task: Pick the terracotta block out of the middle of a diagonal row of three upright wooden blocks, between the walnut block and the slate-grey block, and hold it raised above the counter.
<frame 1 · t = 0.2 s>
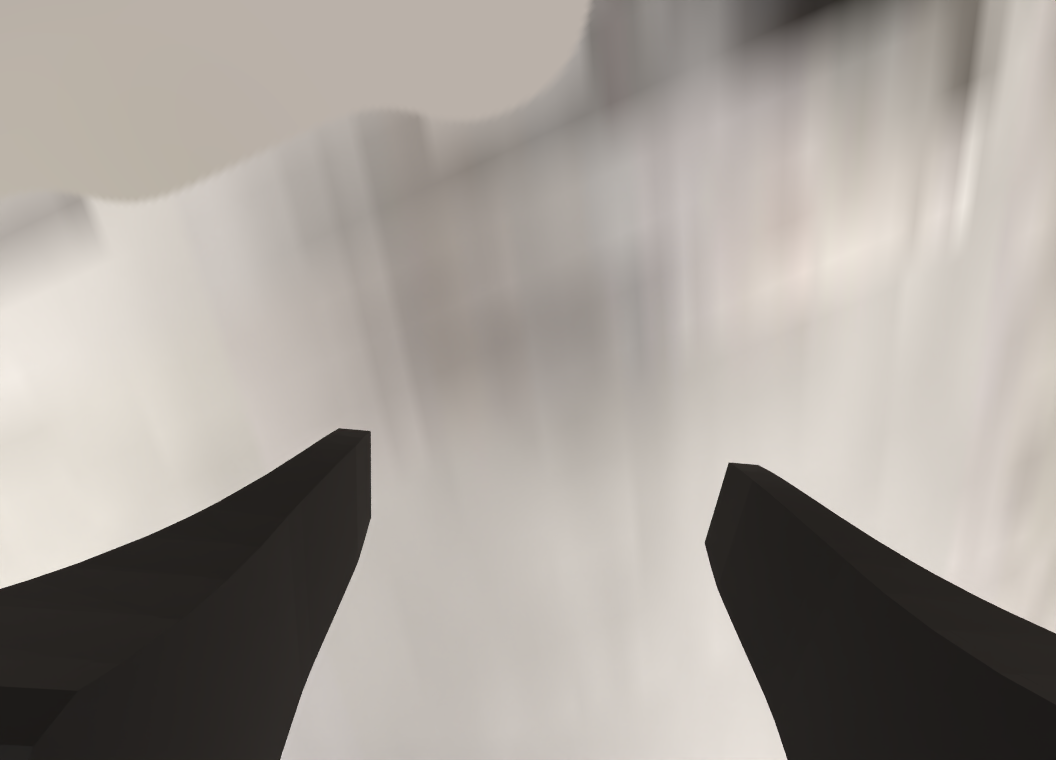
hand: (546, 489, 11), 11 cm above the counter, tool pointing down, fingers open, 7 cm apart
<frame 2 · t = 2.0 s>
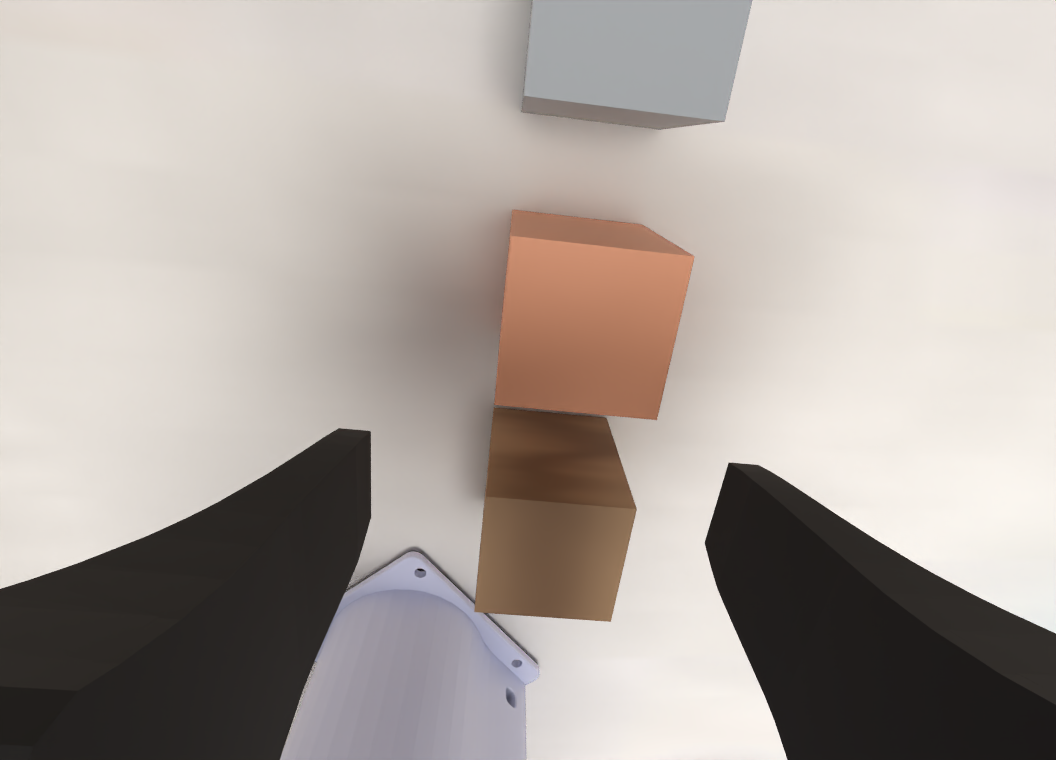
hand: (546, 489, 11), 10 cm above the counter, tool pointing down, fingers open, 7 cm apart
slate block: (602, 39, 17), on the counter
terracotta block: (568, 281, 20), on the counter
walnut block: (543, 460, 22), on the counter
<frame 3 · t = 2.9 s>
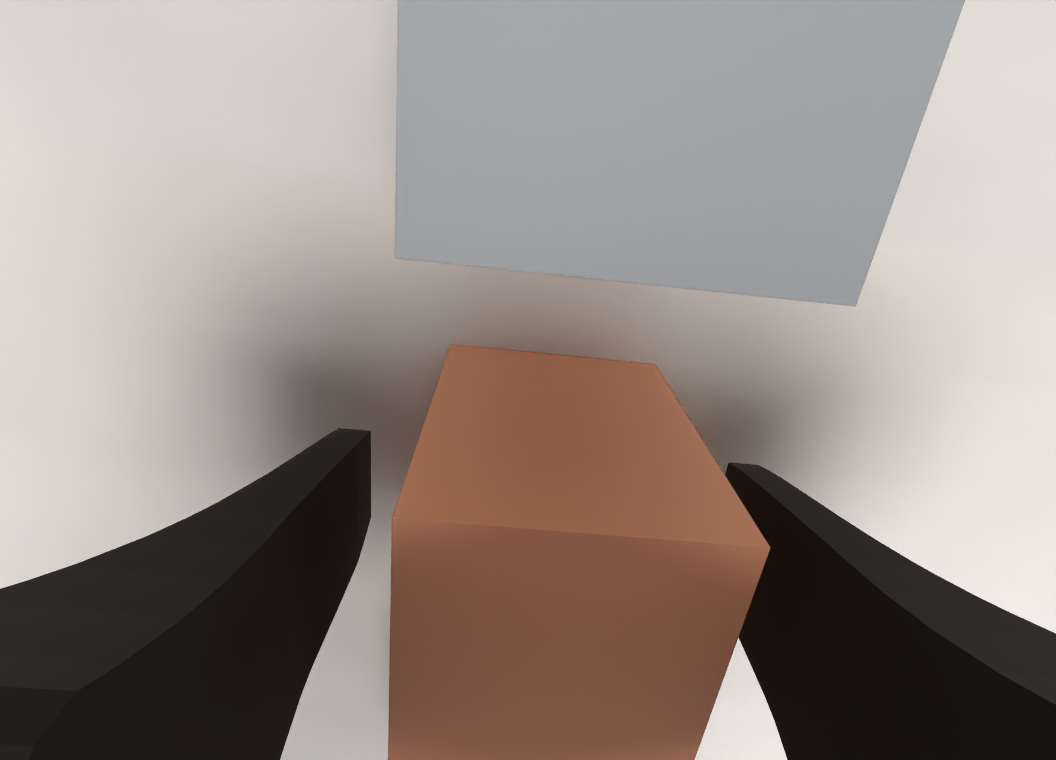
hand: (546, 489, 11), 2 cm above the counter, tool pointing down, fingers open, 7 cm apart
slate block: (590, 82, 10), on the counter
terracotta block: (541, 443, 13), on the counter
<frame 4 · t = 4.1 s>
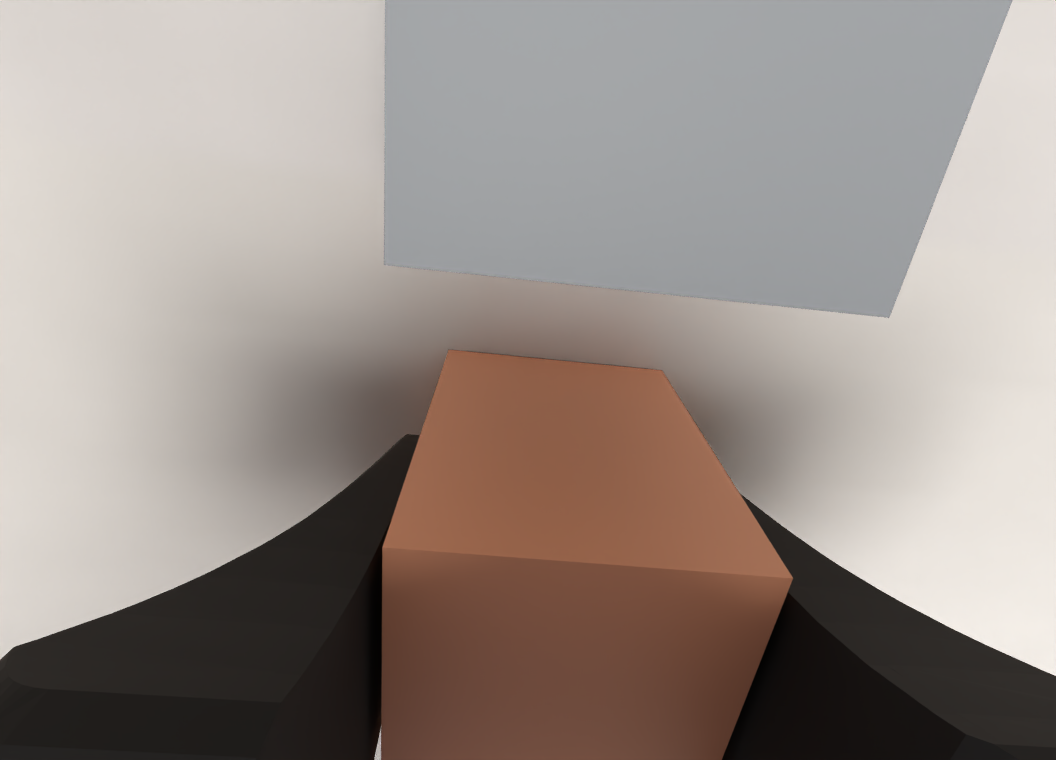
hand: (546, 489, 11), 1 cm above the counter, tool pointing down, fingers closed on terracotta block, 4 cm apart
slate block: (594, 76, 9), on the counter
terracotta block: (543, 452, 12), on the counter, touching gripper
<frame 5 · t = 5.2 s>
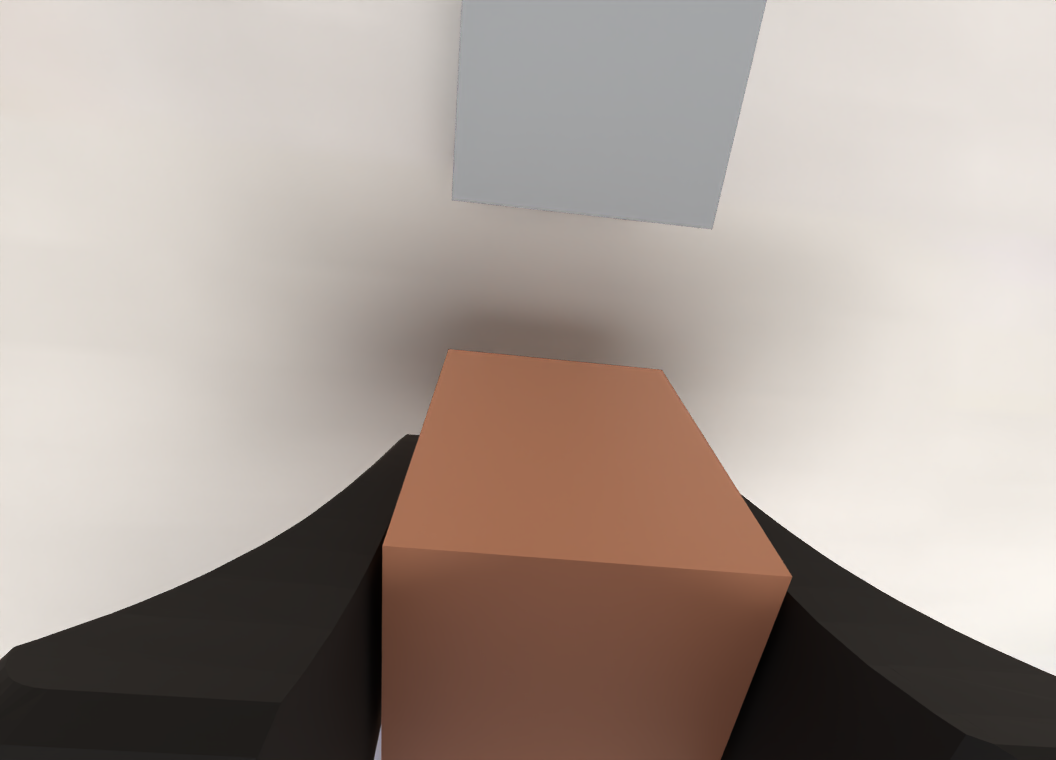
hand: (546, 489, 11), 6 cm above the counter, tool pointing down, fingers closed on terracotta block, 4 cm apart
slate block: (571, 94, 14), on the counter
terracotta block: (543, 451, 12), point 5 cm above the counter, touching gripper
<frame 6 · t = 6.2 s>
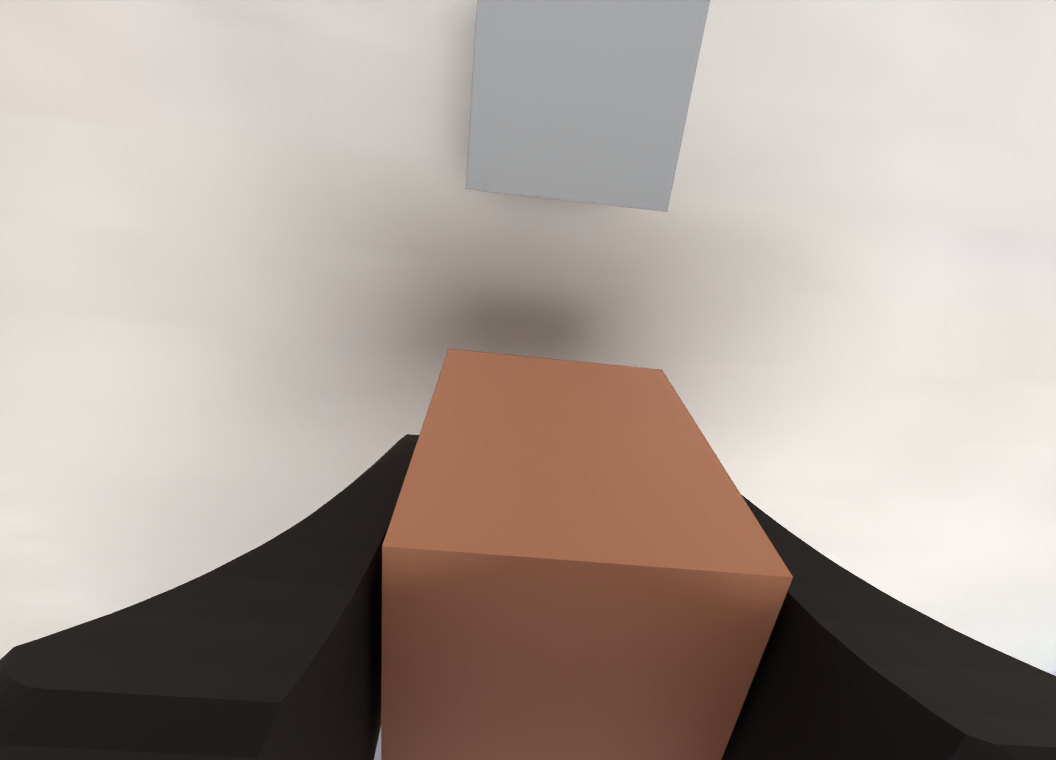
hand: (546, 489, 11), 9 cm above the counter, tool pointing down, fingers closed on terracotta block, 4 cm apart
slate block: (561, 104, 17), on the counter
terracotta block: (543, 451, 12), point 8 cm above the counter, touching gripper
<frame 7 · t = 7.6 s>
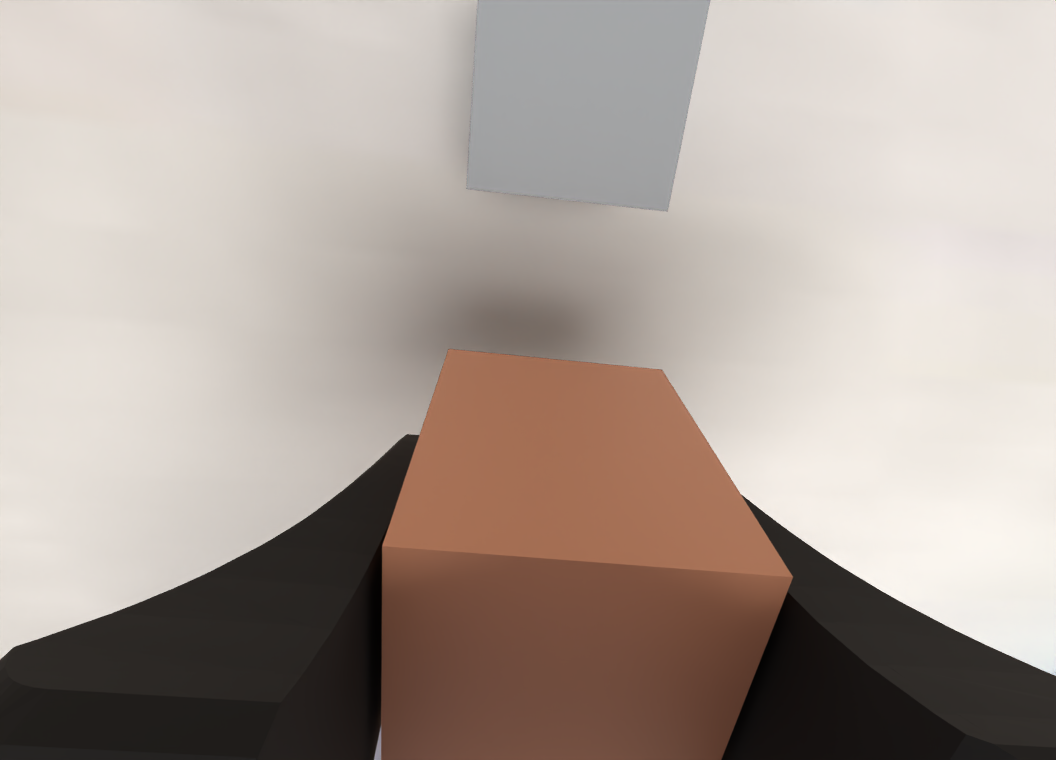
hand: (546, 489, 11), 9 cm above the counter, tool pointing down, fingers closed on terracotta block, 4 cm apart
slate block: (561, 104, 17), on the counter
terracotta block: (543, 451, 12), point 8 cm above the counter, touching gripper
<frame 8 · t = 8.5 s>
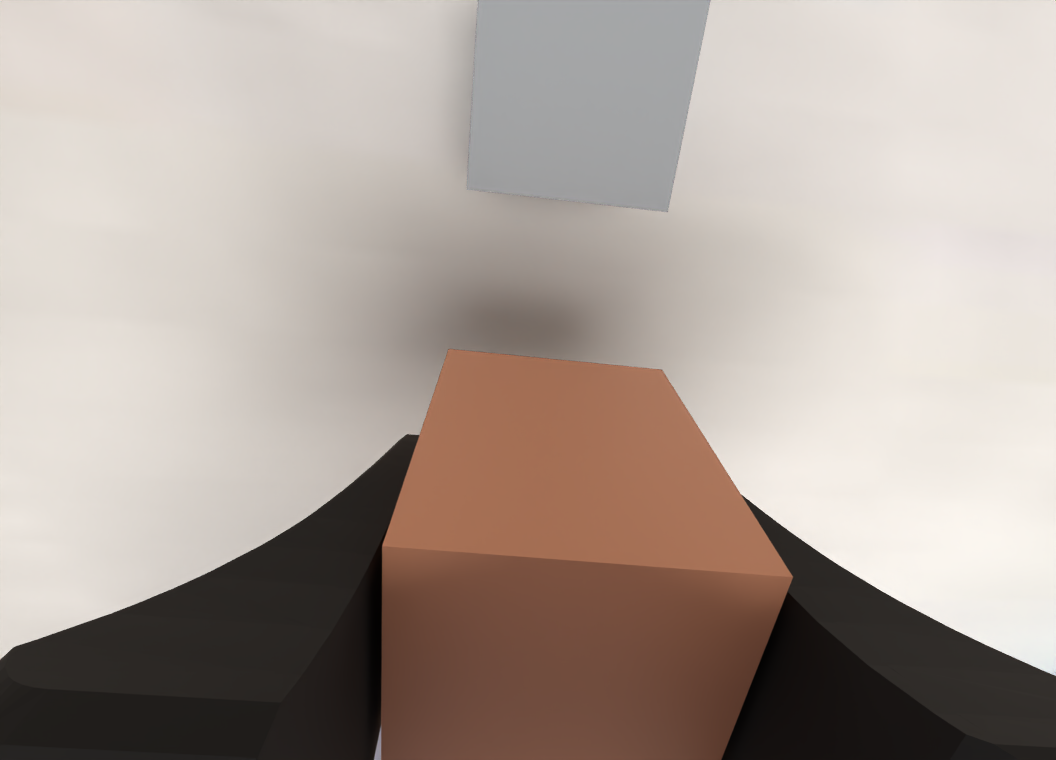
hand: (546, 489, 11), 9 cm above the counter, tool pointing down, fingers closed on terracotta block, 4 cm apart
slate block: (561, 104, 17), on the counter
terracotta block: (543, 451, 12), point 8 cm above the counter, touching gripper
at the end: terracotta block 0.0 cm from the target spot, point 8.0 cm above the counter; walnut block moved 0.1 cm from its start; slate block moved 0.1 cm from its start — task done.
